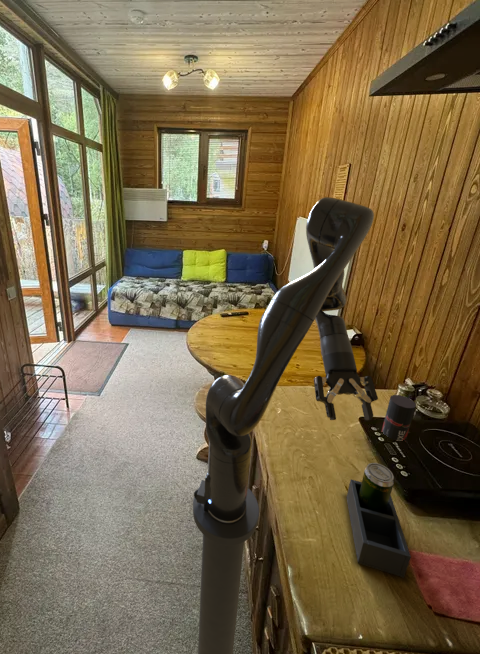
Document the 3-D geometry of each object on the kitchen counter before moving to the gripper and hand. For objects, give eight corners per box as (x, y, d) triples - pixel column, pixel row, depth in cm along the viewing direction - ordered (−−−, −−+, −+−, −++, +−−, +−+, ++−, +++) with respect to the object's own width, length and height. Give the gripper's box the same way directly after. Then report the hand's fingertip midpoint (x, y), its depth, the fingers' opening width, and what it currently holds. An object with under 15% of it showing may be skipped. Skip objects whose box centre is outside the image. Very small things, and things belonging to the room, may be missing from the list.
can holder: (357, 563, 59) (363, 542, 58) (346, 497, 73) (350, 479, 71) (403, 577, 57) (411, 557, 55) (383, 507, 71) (388, 488, 69)
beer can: (388, 519, 67) (400, 477, 63) (372, 530, 65) (384, 487, 61) (365, 499, 72) (375, 458, 68) (349, 509, 69) (359, 467, 65)
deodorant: (391, 454, 86) (403, 409, 81) (374, 439, 91) (385, 396, 86) (408, 451, 87) (421, 406, 82) (390, 436, 93) (402, 393, 88)
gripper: (315, 350, 78) (327, 418, 71) (371, 350, 77) (389, 418, 70) (305, 358, 84) (315, 421, 77) (357, 358, 84) (372, 421, 77)
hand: (350, 420), depth 74 cm, fingers open, 8 cm apart
